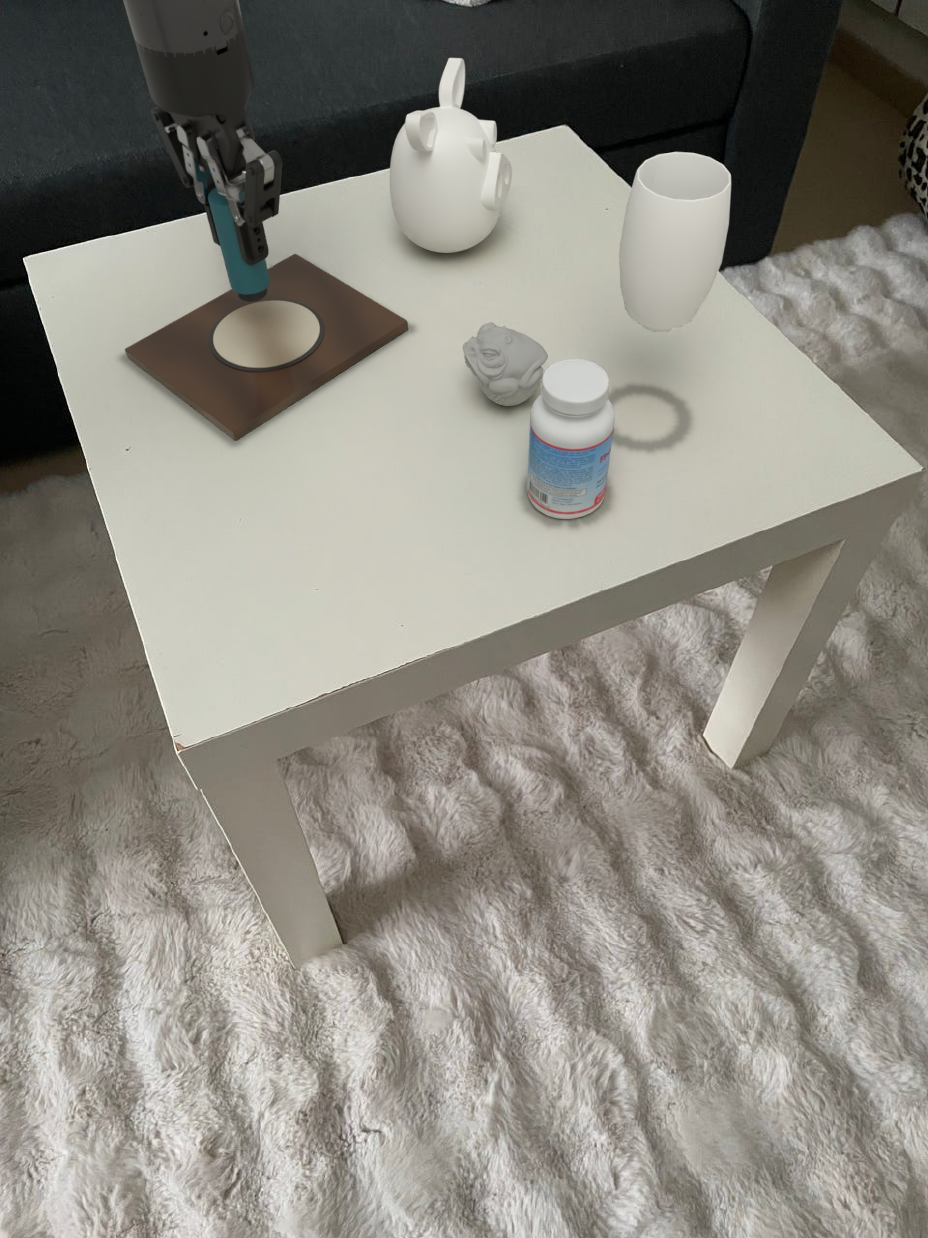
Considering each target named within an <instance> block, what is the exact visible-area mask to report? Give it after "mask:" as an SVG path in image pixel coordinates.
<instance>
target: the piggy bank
mask: <svg viewBox="0 0 928 1238" xmlns="http://www.w3.org/2000/svg"><path fill="white" fill-rule="evenodd" d="M465 85H466V64H465V60H464V59H463V58H462V57H449V58H448V59H447V62H446V65H445V67H444V70H443V71H442V75H441V77H440V80H439V86H438V102H439V106H438V107H432V108H428V109H425V110H415V111H412V112H410V113H407V114H406V116H405V121H404V123H403V124H402V126H401V128H400V129H399V131H398V133H397V135H396V138H395V140H394V144H393V146H392V150H391V157H390V164H389V195H390V202H391V203H390V204H391V208H392V211H393V215H394V218H395V220H396V222H397V225H398V226H399V228H400V230H401V231H402V232H403V234H404V235H405V236H406V237H407V238H408V239H409V240H410V241H411V242H412V243H414V244H415V245H416V246H418V247H420V248H422V249H424V250H428V251H431V252H435V253H439V254H442V253H443V254H450V253H451V254H452V253H458V252H462V251H465V250H468V249H471V248H472V247H474V246H477V245H478V244H479V243H482V241H484V240H485V239H486V238H487V237H488V236H489V235H490V234H491V232H492V231H493V230H494V229H495V226H497V223H498V221H499V219H500V216H501V213H502V209H503V206H504V203H505V202H506V200H507V198H508V195H509V193H510V189H511V186H512V180H513V179H512V178H513V169H512V164H511V161H510V160H509V158H508V157H507V156H506V155H505V154H504V153H503V152H500V151H498V152H497V151H496V149H495V145H496V144H497V138H498V127H497V123H496V121H495V120H487V119H479V118H478V117H476V116H475V115H473V113H471V112H469V111H467V110H464V109H462V108H461V107H462V104H463V100H464V95H465Z"/></svg>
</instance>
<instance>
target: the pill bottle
mask: <svg viewBox="0 0 928 1238" xmlns="http://www.w3.org/2000/svg"><path fill="white" fill-rule="evenodd" d="M609 389H610V378H609V375H608V373H607V372H606V370H605V369H604V368H603V367H601V366H600V365H599V364H597V363H595V362H593V361H591V360H587V359H582V358H566V359H562V360H559V361H556V362H554V363H553V364H551V365H549V366H548V367H547V368H546V370H545V371H543V375H542V379H541V387H540V395H538V396H537V397H536V399H535V400H534V402H533V404H532V407H531V409H530V415H529V416H530V417H529V429H528V455H527V457H528V458H527V459H528V461H527V480H526V481H527V482H526V491H527V497H528V500H529V501H530V502H531V505H532V506H534V508H536V509H537V510H538V511H539V512H540V513H542V514H544V515H546V516H547V517H549V518H550V517H551V518H554V519H559V520H572V519H577V518H582V517H584V516H588V515H589V514H591V513H593V512H594V511H596V510H597V509H599V507H600V506H601V504H602V503H603V501H604V498H605V495H606V490H607V482H608V477H609V475H608V474H609V468H610V460H611V454H612V445H613V439H614V438H613V437H614V431H615V422H616V414H615V410H614V406H613V404H612V402H611V401H610V399H609V394H610V393H609Z"/></svg>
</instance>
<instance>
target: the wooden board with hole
mask: <svg viewBox="0 0 928 1238" xmlns="http://www.w3.org/2000/svg"><path fill="white" fill-rule="evenodd" d="M267 269H268V273H269V278H270V283H269V285H268V287H267V295H266V296H265V297H264V298H263V299H261V300H258V301H255V302H246V301H243V300H241V299H240V298H239V297H238V294H237V292H235V291H234V290H233V289H232V288H230V289H229V290H228V291H226V292H224V293H222V294H220V295H218V296H217V297H215V298H213V299H211V300H209V301H208V302H206V303H204V304H203V305H201V306H199V307H197V308H195V309H194V310H192V311H190V312H188V313H186V314H184V315H183V316H181V317H179V318H178V319H176V320H174V321H172V322H170V323H169V324H167V325H165V326H163V327H161V328H159V329H158V330H156V331H154V332H153V333H150V334H149V335H147V336H145V337H143V338H141V339H140V340H138V341H136V342H135V343H133V344H131V345H129V346H127V347H126V348H124V352H125V355H126V357H127V359H129V360H130V361H132V362H133V363H134V364H135V365H136V366H138V367H139V368H140V369H142V370H143V371H144V372H146V374H148V375H150V376H151V377H152V378H153V379H155V380H156V381H157V382H158V383H160V384H161V385H163V386H164V387H165V388H166V389H168V390H169V391H170V392H172V393H173V394H174V395H176V396H177V397H178V398H179V399H181V400H182V401H184V402H185V403H186V404H187V405H189V406H190V407H191V408H193V409H194V410H195V411H197V412H198V413H199V414H200V415H202V416H203V417H204V418H206V419H207V420H208V421H209V422H210V423H212V424H213V425H215V426H216V427H217V428H218V429H220V430H221V431H223V432H224V433H225V434H227V436H229V437H231V438H232V439H233V440H234V441H238V440H240V439H241V438H243V437H245V435H248V434H249V433H250V432H252V431H253V430H255V429H256V428H258V427H259V426H261V425H262V424H264V423H266V422H267V421H268V420H271V419H272V418H273V417H275V416H276V415H278V414H279V413H281V412H283V411H284V410H286V409H287V408H289V407H290V406H292V405H294V404H295V403H297V402H298V401H300V400H301V399H303V398H304V397H306V396H308V395H309V394H311V393H312V392H314V391H315V390H317V389H319V388H321V386H323V385H325V384H327V383H328V382H329V381H331V380H332V379H334V378H335V377H337V376H338V375H340V374H342V373H343V372H344V371H346V370H347V369H349V368H351V367H352V366H354V365H356V364H357V363H359V362H360V361H362V360H363V359H365V358H366V357H368V356H369V355H371V354H373V353H374V352H376V351H377V350H379V349H380V348H382V347H383V346H385V345H386V344H388V343H390V342H391V341H393V340H394V339H396V338H397V337H399V336H401V335H402V334H404V333H405V332H407V331H408V330H409V325H408V324H409V323H408V320H407V319H405V318H404V317H402V316H400V315H399V314H397V313H396V312H394V311H393V310H390V309H389V308H388V307H385V306H384V305H382V304H381V303H379V302H377V301H376V300H374V299H372V298H370V297H369V296H367V295H365V294H364V293H362V292H360V291H359V290H357V289H355V288H354V287H352V286H350V285H349V284H347V283H346V282H344V281H342V280H341V279H339V278H337V277H336V276H334V275H332V274H330V273H329V272H327V271H325V270H324V269H322V268H320V267H319V266H317V265H316V264H314V263H312V262H310V261H309V260H308V259H305V258H304V257H303V256H301V255H299V254H297V253H293V254H292V255H290V256H288V257H287V258H285V259H283V260H281V261H279V262H278V263H276V264H274V265H272V266H270V267H267Z"/></svg>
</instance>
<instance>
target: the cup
mask: <svg viewBox="0 0 928 1238" xmlns="http://www.w3.org/2000/svg"><path fill="white" fill-rule="evenodd" d="M731 193H732V175H731V172H730V171H729V170H728V168H726V166H725V164H723V163H722V162H719V161H717V160H716V159H714V158H712V157H711V156H706V155H704V154H699V153H695V152H684V151H673V152H668V153H659V154H656V155H654V156H652V157H650V158H648V159H645V160H644V161H643V162H642V163H641V164H640V165H639V167H638V168H637V169H636V171H635V175H634V178H633V182H632V186H631V189H630V192H629V196H628V200H627V202H626V206H625V211H624V219H623V222H622V223H623V224H622V229H621V237H620V242H619V251H618V264H619V265H618V266H619V286H620V291H621V296H622V302H623V306H624V310H625V311H626V313H627V314H628V316H629V318H630V319H632V320H633V321H634V322H636V323H637V324H639V325H640V326H642V327H643V328H644V329H645V330H647V331H650V332H653V333H666V332H670V331H672V330H673V329H677V328H682V327H683V326H685V325H687V324H689V323H691V322H692V321H693V319H694V318H695V317H696V315H697V314H698V312H699V310H700V309H701V308H702V306H703V304H704V302H705V301H706V299H707V297H708V296H709V294H710V293H711V290H712V288H713V285H714V283H715V280H716V277H717V275H718V273H719V271H720V268H721V266H722V263H723V258H724V252H725V247H726V242H727V235H728V231H729V225H730V209H731V197H732V196H731V195H732V194H731Z"/></svg>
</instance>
